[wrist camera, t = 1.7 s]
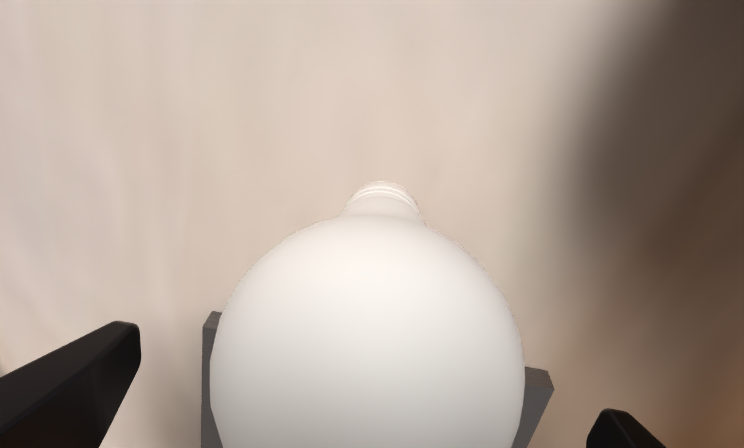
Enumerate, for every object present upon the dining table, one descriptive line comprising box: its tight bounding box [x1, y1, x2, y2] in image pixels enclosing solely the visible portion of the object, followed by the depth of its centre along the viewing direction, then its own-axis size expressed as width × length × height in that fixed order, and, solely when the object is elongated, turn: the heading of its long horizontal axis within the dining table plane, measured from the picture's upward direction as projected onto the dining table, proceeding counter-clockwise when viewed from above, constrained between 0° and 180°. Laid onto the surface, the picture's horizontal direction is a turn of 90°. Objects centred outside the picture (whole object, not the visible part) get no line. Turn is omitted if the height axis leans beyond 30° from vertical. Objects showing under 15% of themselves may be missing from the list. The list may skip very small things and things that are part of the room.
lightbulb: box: [210, 181, 525, 448], centre depth 12 cm, size 6×6×11 cm
